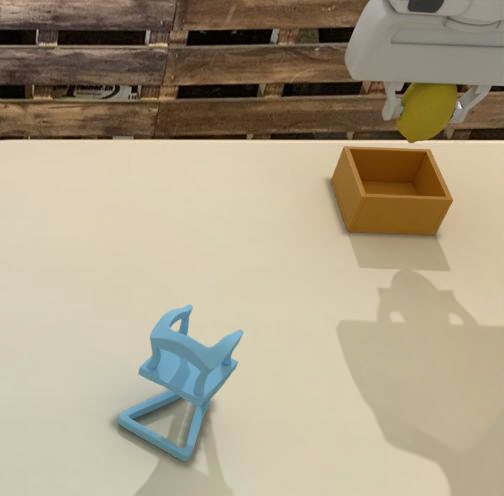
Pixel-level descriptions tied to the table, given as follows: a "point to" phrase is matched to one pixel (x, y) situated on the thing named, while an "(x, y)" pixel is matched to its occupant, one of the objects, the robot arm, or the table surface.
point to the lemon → (426, 110)
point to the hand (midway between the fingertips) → (420, 119)
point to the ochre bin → (390, 190)
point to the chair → (181, 376)
